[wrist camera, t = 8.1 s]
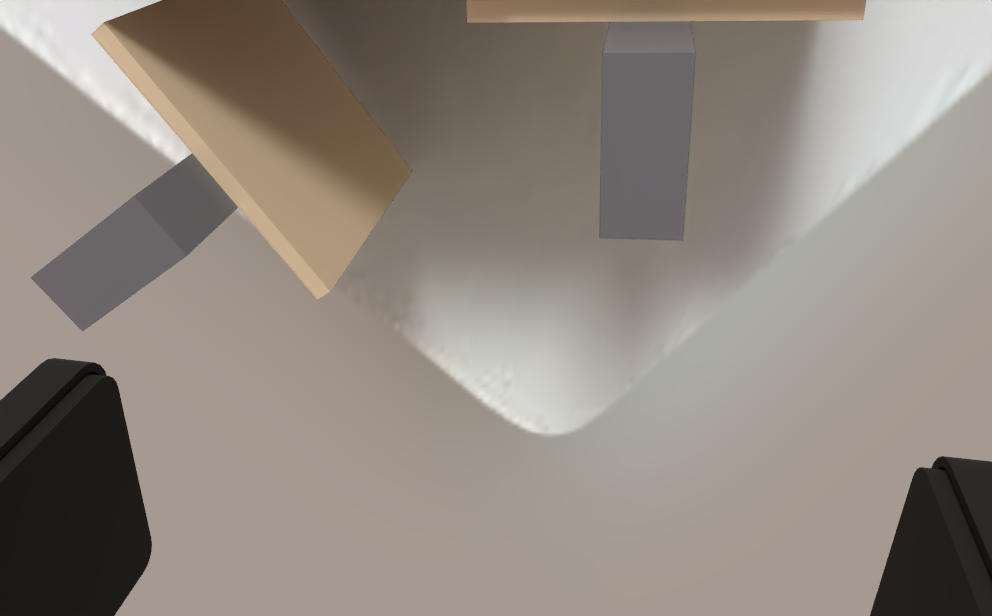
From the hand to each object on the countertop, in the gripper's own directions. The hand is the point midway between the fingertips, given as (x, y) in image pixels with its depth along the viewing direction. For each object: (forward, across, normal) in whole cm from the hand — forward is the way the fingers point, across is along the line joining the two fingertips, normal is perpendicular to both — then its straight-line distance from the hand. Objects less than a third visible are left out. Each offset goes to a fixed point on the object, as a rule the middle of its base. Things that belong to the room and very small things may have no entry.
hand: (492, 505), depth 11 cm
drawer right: (+23, -2, -1) cm, 23 cm away
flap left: (+23, +11, +3) cm, 26 cm away
